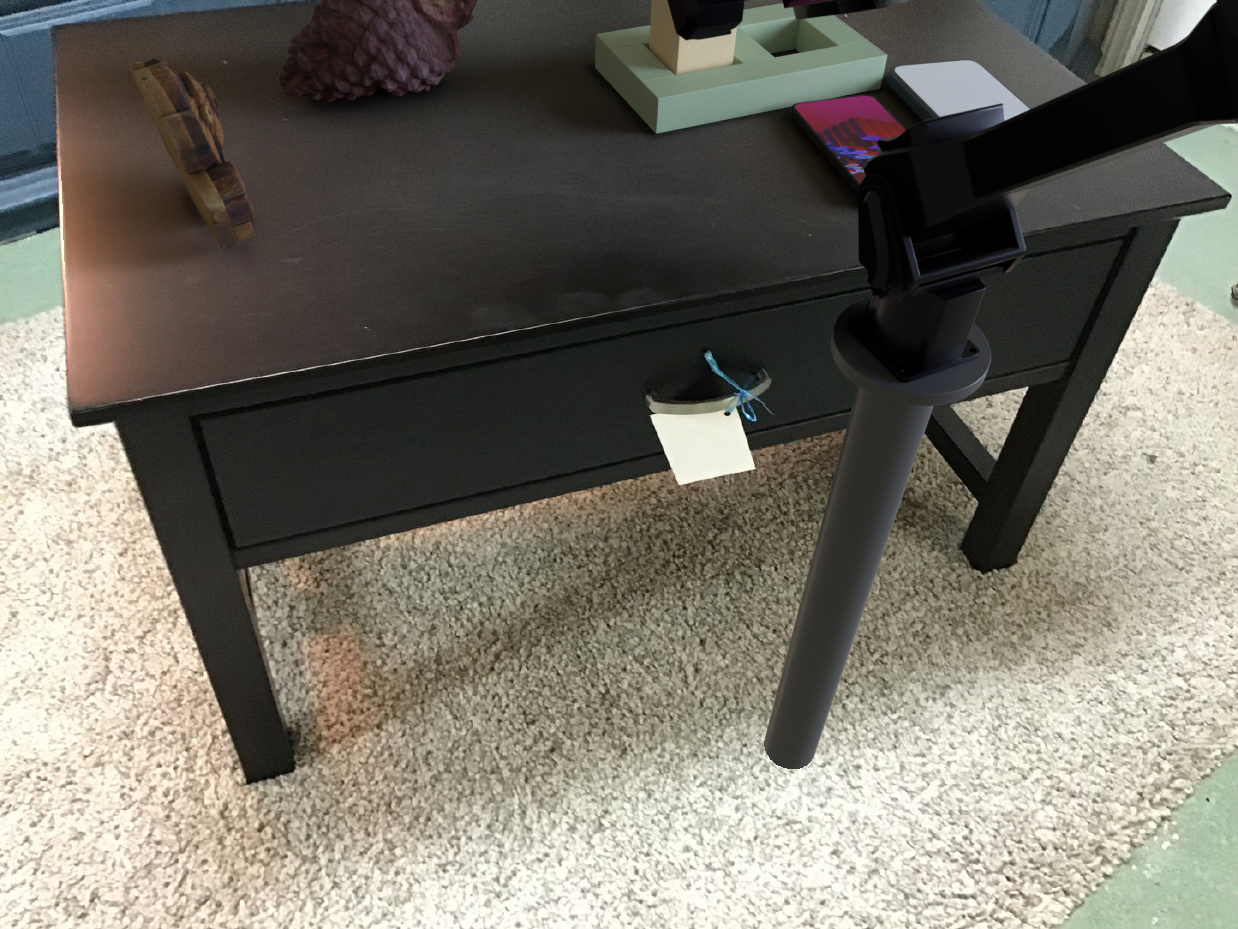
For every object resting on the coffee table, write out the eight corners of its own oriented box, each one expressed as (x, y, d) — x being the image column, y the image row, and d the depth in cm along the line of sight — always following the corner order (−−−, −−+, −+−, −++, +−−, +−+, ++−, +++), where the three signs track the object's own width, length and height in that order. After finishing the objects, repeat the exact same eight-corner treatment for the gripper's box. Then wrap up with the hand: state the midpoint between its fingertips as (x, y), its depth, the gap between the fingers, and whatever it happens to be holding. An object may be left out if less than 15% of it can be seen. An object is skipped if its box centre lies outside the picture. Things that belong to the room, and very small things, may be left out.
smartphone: (873, 92, 87) (963, 184, 77) (871, 103, 87) (960, 195, 77) (787, 103, 85) (868, 198, 75) (785, 113, 86) (865, 209, 76)
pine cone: (309, 144, 80) (241, 14, 76) (312, 145, 89) (251, 29, 85) (515, 49, 82) (458, -83, 78) (497, 59, 91) (446, -58, 87)
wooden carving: (292, 255, 70) (259, 117, 63) (226, 278, 68) (184, 137, 61) (203, 149, 79) (166, 18, 72) (143, 166, 77) (98, 33, 70)
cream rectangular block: (729, 94, 88) (747, -69, 78) (674, 105, 86) (686, -61, 77) (701, 68, 91) (715, -92, 81) (647, 78, 89) (655, -85, 80)
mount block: (880, 88, 89) (887, 54, 87) (655, 134, 83) (658, 98, 81) (806, 30, 97) (811, -2, 95) (595, 68, 90) (595, 33, 88)
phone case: (879, 83, 90) (967, 175, 80) (883, 65, 89) (972, 156, 78) (971, 74, 92) (1069, 163, 81) (976, 56, 91) (1076, 144, 80)
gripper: (945, -235, 65) (821, -101, 80) (679, -211, 59) (599, -71, 74) (989, -58, 66) (858, 43, 81) (730, -17, 60) (641, 83, 75)
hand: (743, 21), depth 78 cm, fingers open, 9 cm apart
